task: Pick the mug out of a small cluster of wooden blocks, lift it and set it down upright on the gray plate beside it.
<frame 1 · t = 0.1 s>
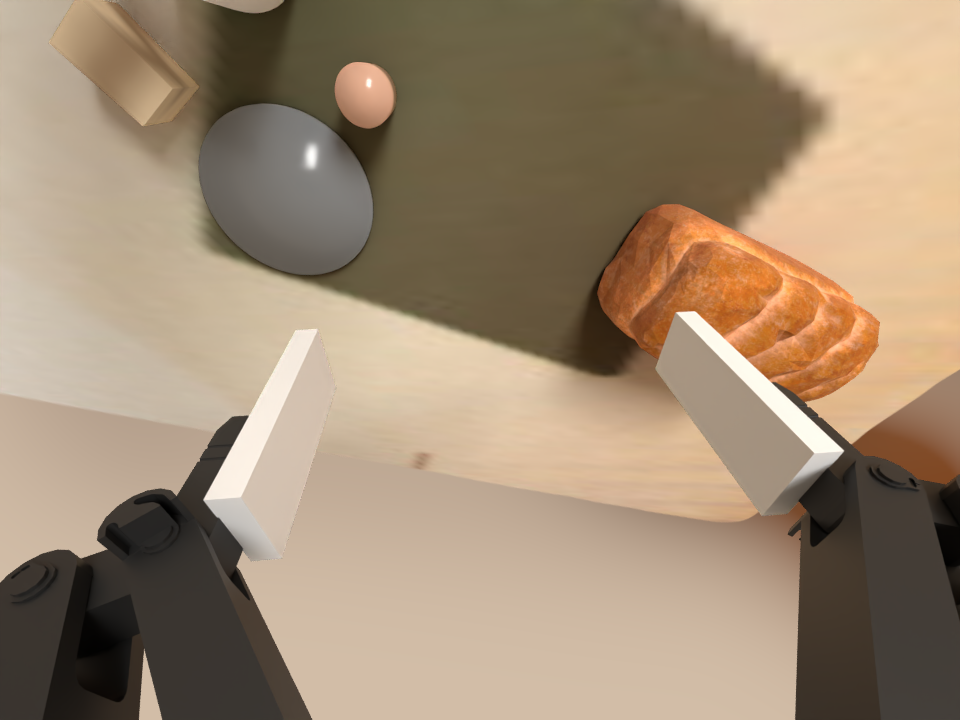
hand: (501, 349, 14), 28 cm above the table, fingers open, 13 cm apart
beech block: (147, 66, 30), on the table
bread: (700, 285, 46), on the table
gray plate: (292, 198, 36), on the table
peach egg shape: (372, 93, 32), on the table
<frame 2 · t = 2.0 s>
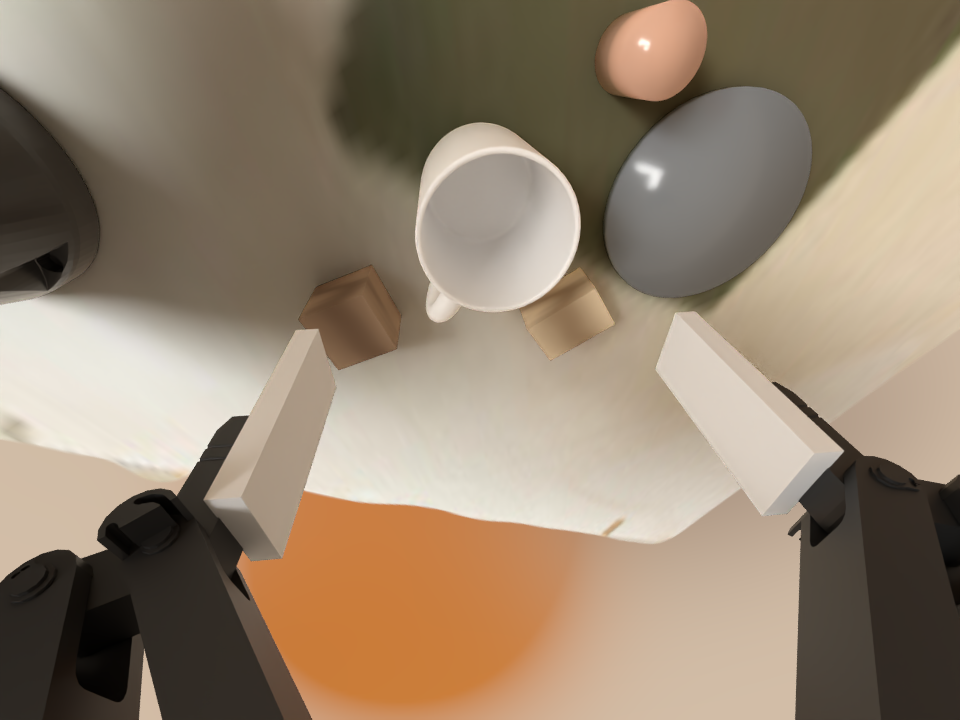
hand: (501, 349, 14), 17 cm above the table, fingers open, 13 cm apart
beech block: (558, 302, 33), on the table
walnut block: (360, 301, 31), on the table
mug: (466, 211, 28), on the table
gray plate: (699, 206, 29), on the table
peach egg shape: (627, 55, 23), on the table
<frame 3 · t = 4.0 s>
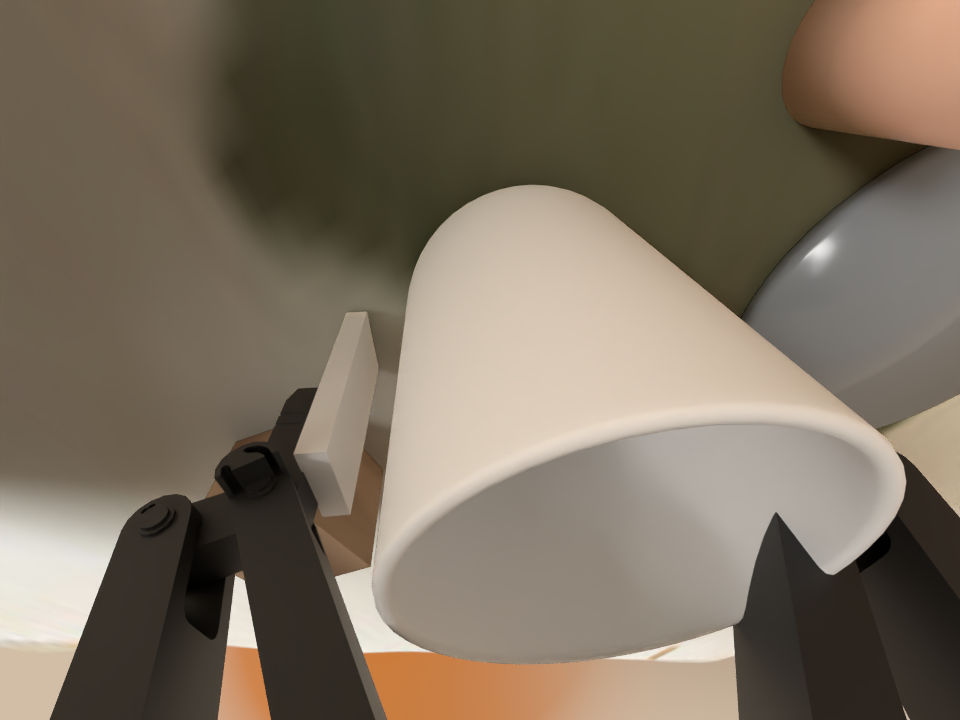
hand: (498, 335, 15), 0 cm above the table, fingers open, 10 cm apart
walnut block: (314, 455, 19), on the table
mug: (493, 328, 15), on the table, touching gripper
gray plate: (901, 311, 17), on the table
peach egg shape: (857, 44, 11), on the table
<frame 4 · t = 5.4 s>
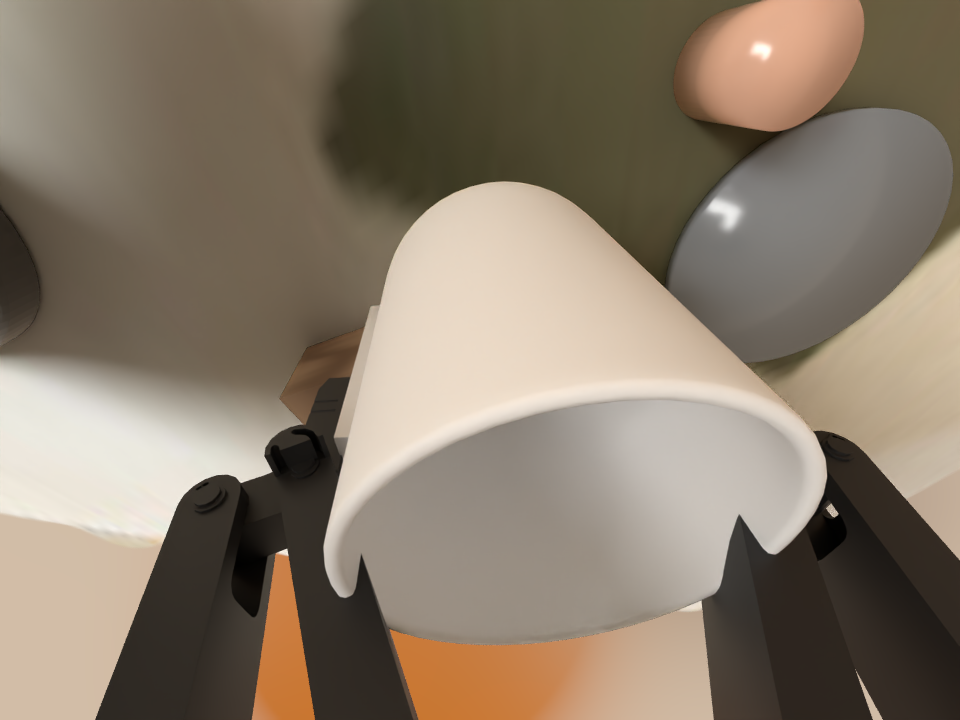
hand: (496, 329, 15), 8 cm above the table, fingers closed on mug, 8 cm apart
walnut block: (360, 363, 26), on the table
mug: (472, 324, 16), point 7 cm above the table, touching gripper
gray plate: (790, 256, 23), on the table
peach egg shape: (718, 68, 17), on the table
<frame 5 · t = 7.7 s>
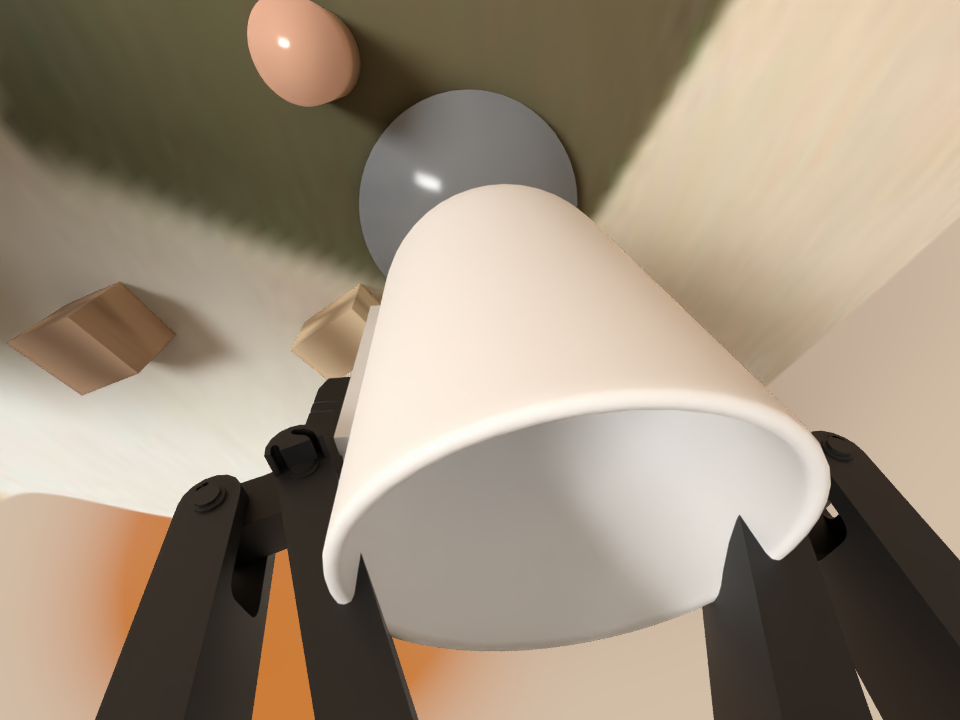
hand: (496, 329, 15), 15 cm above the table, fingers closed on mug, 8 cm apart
beech block: (350, 320, 31), on the table
walnut block: (123, 319, 29), on the table
mug: (472, 326, 16), point 14 cm above the table, touching gripper
gray plate: (469, 218, 27), on the table
peach egg shape: (322, 56, 21), on the table
when the fingers open (3 cm above the table, at t = 10.5 s): mug drops 2 cm, resting on gray plate.
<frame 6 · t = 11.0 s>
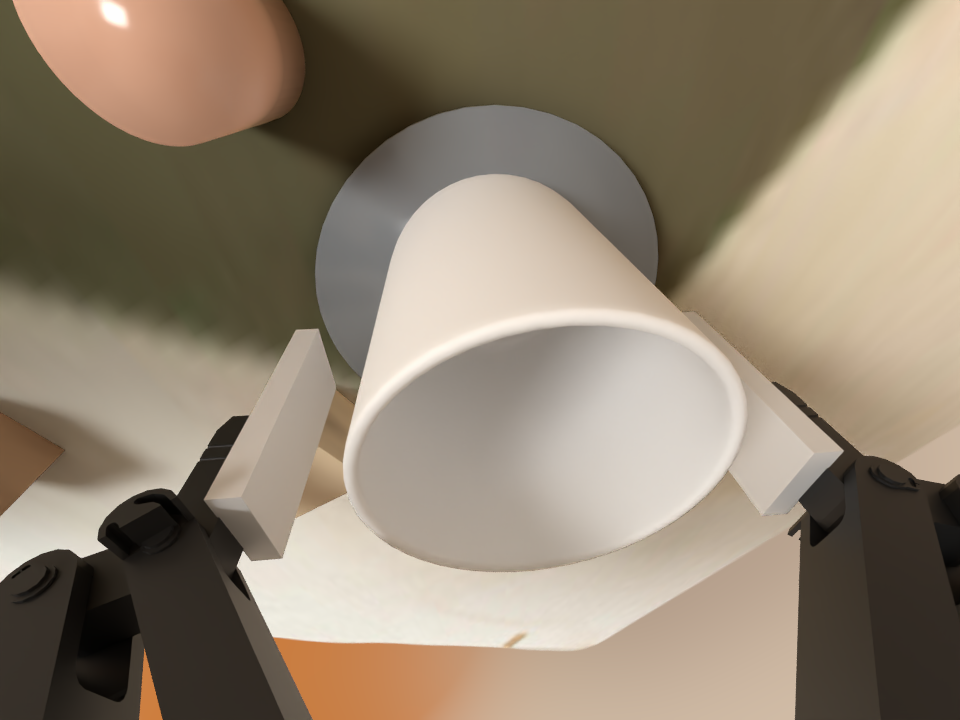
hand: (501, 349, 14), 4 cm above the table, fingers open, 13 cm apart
beech block: (315, 425, 22), on the table
mug: (470, 307, 17), point 1 cm above the table, touching gray plate
gray plate: (489, 297, 18), on the table
peach egg shape: (236, 46, 12), on the table
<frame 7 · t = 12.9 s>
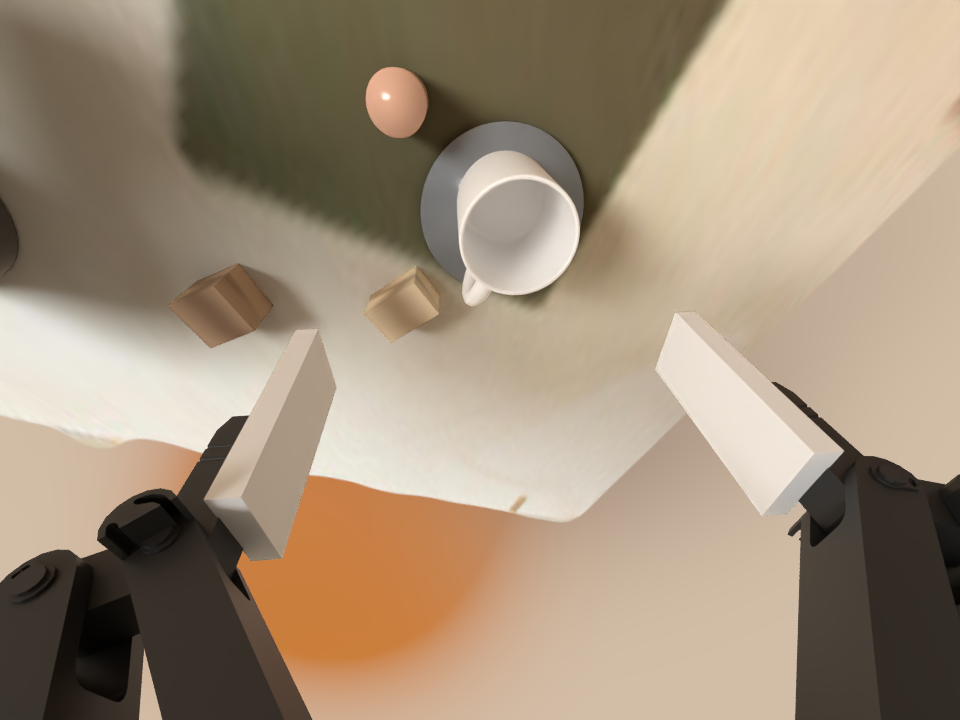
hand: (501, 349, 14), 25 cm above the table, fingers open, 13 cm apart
beech block: (405, 295, 40), on the table
walnut block: (236, 293, 39), on the table
mug: (492, 218, 35), point 1 cm above the table, touching gray plate
gray plate: (501, 215, 35), on the table
peach egg shape: (403, 100, 30), on the table
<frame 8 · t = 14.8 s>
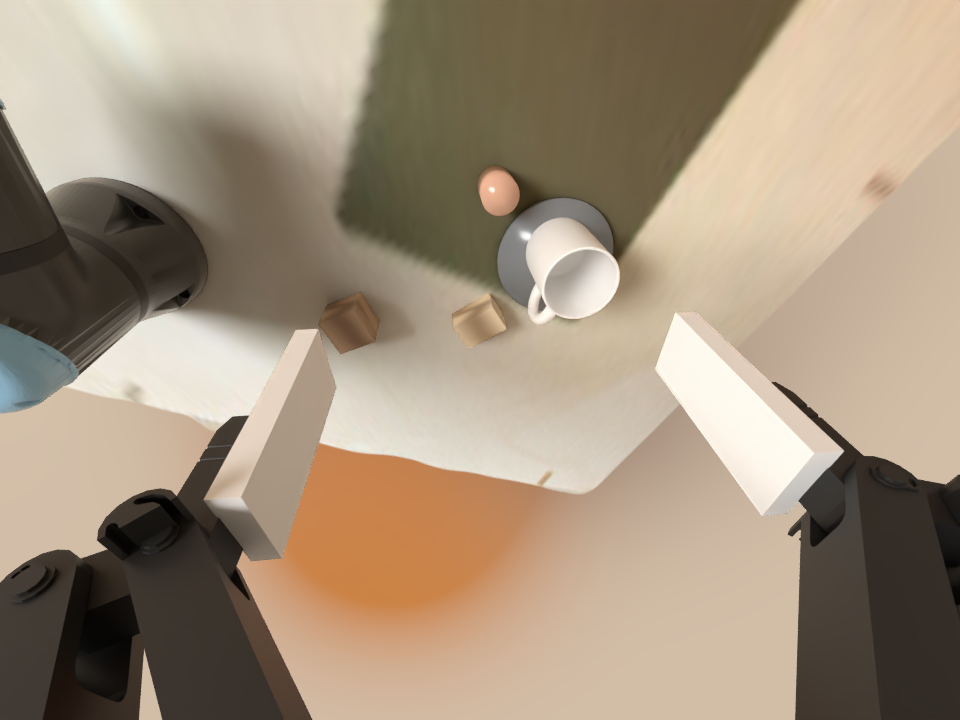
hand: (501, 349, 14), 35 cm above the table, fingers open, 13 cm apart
beech block: (477, 313, 54), on the table
walnut block: (354, 313, 52), on the table
mug: (547, 260, 49), point 1 cm above the table, touching gray plate
gray plate: (553, 257, 49), on the table
peach egg shape: (494, 184, 43), on the table
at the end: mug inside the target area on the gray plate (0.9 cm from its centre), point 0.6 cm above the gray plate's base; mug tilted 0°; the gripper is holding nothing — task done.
